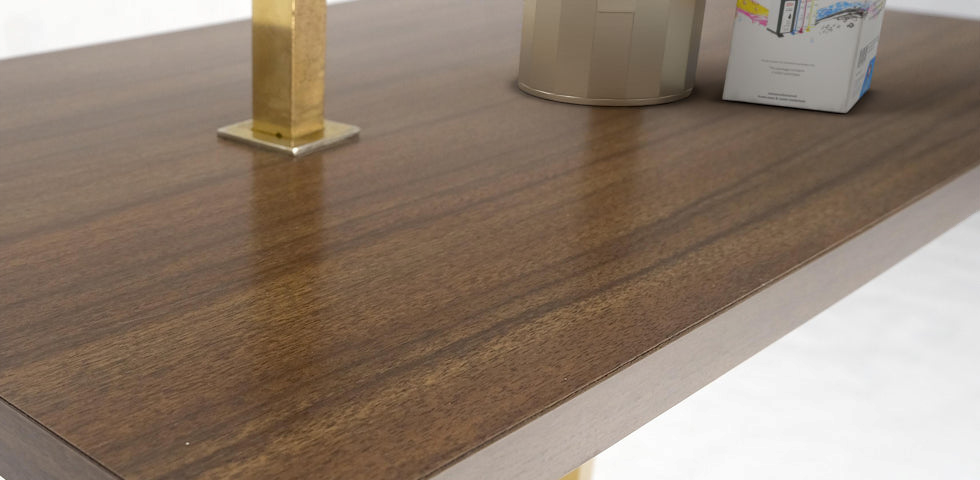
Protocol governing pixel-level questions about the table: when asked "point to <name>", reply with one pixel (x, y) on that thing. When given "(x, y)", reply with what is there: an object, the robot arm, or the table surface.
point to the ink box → (803, 52)
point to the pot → (610, 50)
